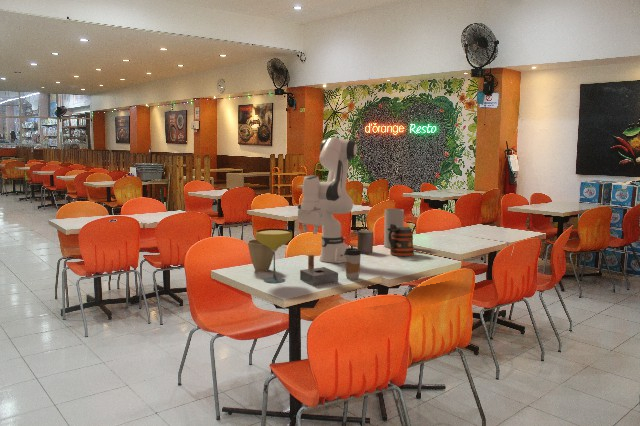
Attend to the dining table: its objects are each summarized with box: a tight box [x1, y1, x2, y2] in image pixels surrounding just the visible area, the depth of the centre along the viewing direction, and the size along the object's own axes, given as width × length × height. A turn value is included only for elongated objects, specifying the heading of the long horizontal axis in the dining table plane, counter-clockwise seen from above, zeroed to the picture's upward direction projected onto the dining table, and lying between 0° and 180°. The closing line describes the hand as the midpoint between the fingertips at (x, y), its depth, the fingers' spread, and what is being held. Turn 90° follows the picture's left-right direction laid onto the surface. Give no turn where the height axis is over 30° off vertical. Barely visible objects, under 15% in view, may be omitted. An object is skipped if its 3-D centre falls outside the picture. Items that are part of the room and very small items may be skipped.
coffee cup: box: [344, 247, 362, 281], centre depth 271 cm, size 8×8×15 cm
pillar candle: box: [357, 229, 374, 255], centre depth 336 cm, size 10×10×15 cm
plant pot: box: [247, 238, 274, 273], centre depth 288 cm, size 15×15×16 cm
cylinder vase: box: [383, 208, 405, 249], centre depth 354 cm, size 12×12×25 cm
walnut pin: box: [307, 254, 315, 269], centre depth 282 cm, size 3×3×10 cm
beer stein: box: [388, 224, 415, 257], centre depth 329 cm, size 19×15×20 cm
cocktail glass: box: [255, 228, 293, 284], centre depth 266 cm, size 18×18×25 cm
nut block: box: [299, 266, 339, 287], centre depth 266 cm, size 14×14×5 cm
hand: (310, 232), depth 278 cm, fingers open, 8 cm apart
